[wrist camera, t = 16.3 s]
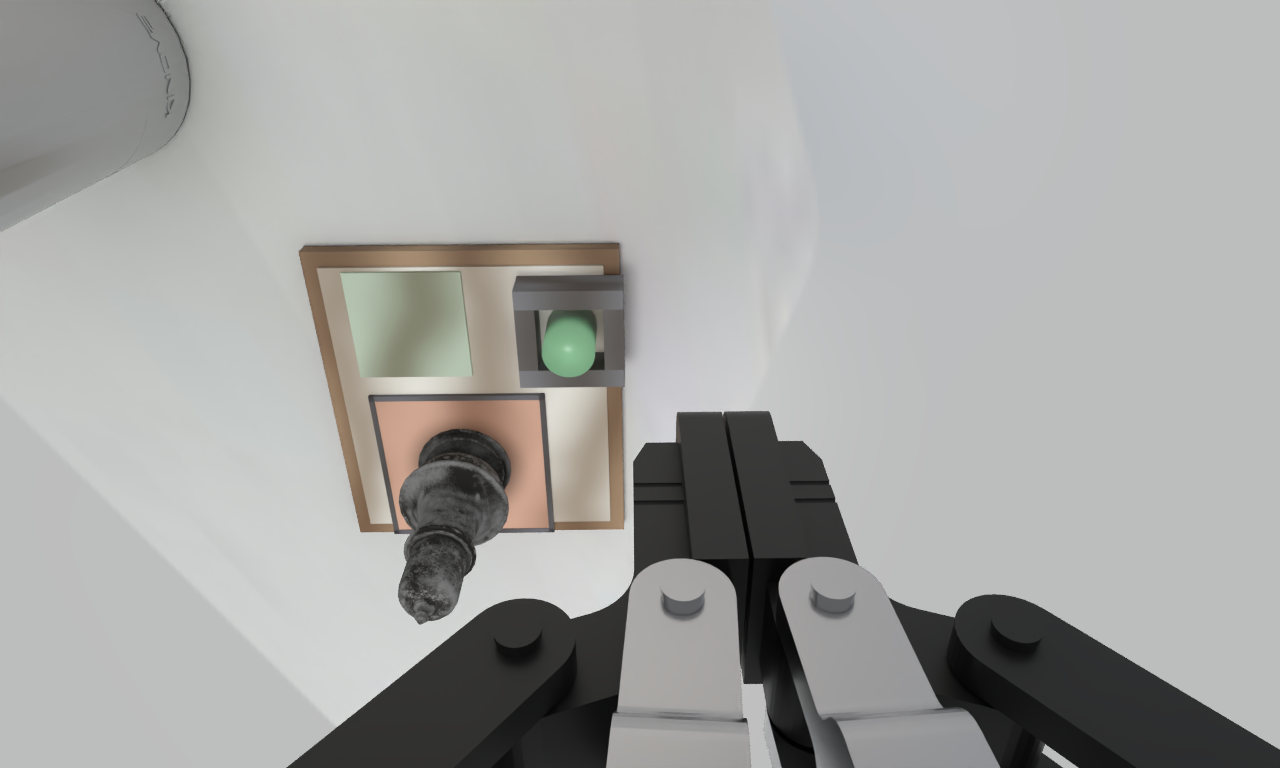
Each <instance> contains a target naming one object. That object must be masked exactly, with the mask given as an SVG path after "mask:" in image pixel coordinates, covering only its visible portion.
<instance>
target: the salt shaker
mask: <svg viewBox="0 0 1280 768" xmlns="http://www.w3.org/2000/svg"><path fill="white" fill-rule="evenodd" d="M418 467H419V468H417V469H416V470H414V471H413V472H412V473H411V474H410V475H409V476H408V477H407V478H406V479H405V481H404V483H403V485H402V487H401V489H400V494H399V506H400V511H401V514H402V516H403V518H404V519H405V521H406V523H407V524H408V525H409V526H410V527H411V528H412V529H413V532H412V533H411V534H410V535H409V536H408V538H407V540H406V542H405V545H404V555H405V559H406V561H407V563H406V566H405V569H404V572H403V575H402V578H401V581H400V584H399V590H398V598H399V602H400V604H401V605H402V607H403V608H404V610H405V611H406V612H407V613H408V614H409V615H411V616H413V617H414V618H415V620H416V621H417V622H418V624H423V623H425V622H427V621H434V620H438V619H441V618H443V617H445V616H447V615H448V614H450V613H451V612H452V611H453V609H454V607H455V606H456V604H457V602H458V598H459V594H460V590H461V586H462V582H463V578H464V576H466V575H467V574H468V573H469V572H470V571H471V570H472V568H473V566H474V565H475V561H476V551H475V547H474V546H476V545H480V544H483V543H485V542H486V541H488V540H490V539H492V538H493V537H495V536H496V535H497V534H498V533H499V532H500V531H501V530H502V528H503V526H504V525H505V523H506V521H507V517H508V512H509V503H508V497H507V495H506V493H505V491H504V490H505V488H506V486H507V485H508V483H509V480H510V475H511V464H510V460H509V457H508V455H507V453H506V451H505V450H504V449H503V448H502V446H501V445H500V444H499V443H498V442H497V441H495V440H494V439H492V438H491V437H490V436H488V435H486V434H483V433H481V432H478V431H474V430H469V429H451V430H448V431H444V432H441V433H439V434H437V435H435V436H434V437H432V438H431V439H430V440H429V441H428V442H427V443H426V444H425V445H424V447H423V449H422V451H421V453H420V455H419V462H418Z"/></svg>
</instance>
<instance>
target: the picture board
mask: <svg viewBox="0 0 1280 768" xmlns="http://www.w3.org/2000/svg"><path fill="white" fill-rule="evenodd" d="M299 256H300V260H301V265H302V269H303V274H304V278H305V283H306V287H307V292H308V296H309V301H310V305H311V310H312V315H313V319H314V324H315V328H316V333H317V337H318V342H319V346H320V351H321V355H322V360H323V364H324V369H325V373H326V378H327V382H328V387H329V391H330V396H331V400H332V405H333V409H334V414H335V419H336V423H337V428H338V432H339V437H340V441H341V446H342V450H343V455H344V459H345V464H346V468H347V473H348V477H349V482H350V486H351V491H352V495H353V500H354V504H355V509H356V513H357V518H358V523H359V527H360V532H394V533H395V534H411V533H412V532H413V529H412V528H411V527H410V526H409V525H408V524H407V523H406V521H405V519H404V518H403V516H402V514H401V511H400V506H399V494H400V489H401V487H402V485H403V483H404V481H405V479H406V478H407V477H408V476H409V475H410V474H411V473H412V472H413V471H414V470H416V469H417V468H419V467H418V462H419V455H420V453H421V451H422V449H423V447H424V445H425V444H426V443H427V442H428V441H429V440H430V439H431V438H432V437H434V436H435V435H437V434H439V433H441V432H444V431H448V430H451V429H469V430H474V431H478V432H481V433H483V434H486V435H488V436H490V437H491V438H492V439H494V440H495V441H497V442H498V443H499V444H500V445H501V446H502V448H503V449H504V450H505V451H506V453H507V455H508V457H509V460H510V464H511V475H510V480H509V483H508V485H507V486H506V488H505V490H504V491H505V493H506V495H507V497H508V503H509V512H508V517H507V521H506V523H505V525H504V526H503V528H502V530H501V531H500V532H499V533H522V532H554V530H595V529H624V493H623V436H622V387H625V354H624V289H623V275H620V267H619V244H519V245H401V246H304V247H303V248H302V249H301V250H300V251H299ZM554 310H589V311H590V312H591V313H592V315H593V316H594V318H595V320H596V323H597V335H596V349H595V359H594V362H593V364H592V366H591V367H590V369H589V370H588V371H587V372H585V373H584V374H582V375H579V376H576V377H562V376H559V375H557V374H555V373H553V372H552V371H550V370H549V369H548V368H547V367H546V365H545V364H544V362H543V359H542V346H543V341H544V336H545V331H546V326H547V321H548V318H549V316H550V314H551V313H552V312H553V311H554Z"/></svg>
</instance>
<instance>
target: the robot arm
mask: <svg viewBox="0 0 1280 768" xmlns="http://www.w3.org/2000/svg"><path fill="white" fill-rule="evenodd" d="M189 82H190V81H189V75H188V69H187V63H186V58H185V55H184V52H183V50H182V47H181V44H180V41H179V39H178V36H177V34H176V33H175V31H174V29H173V27H172V25H171V24H170V22H169V20H168V18H167V17H166V15H165V13H164V12H163V11H162V10H161V8H160V7H159V6H158V5H157V3H156V2H155V1H154V0H0V232H2V231H4V230H5V229H7V228H9V227H11V226H13V225H15V224H17V223H19V222H21V221H23V220H25V219H27V218H29V217H30V216H32V215H34V214H36V213H38V212H40V211H42V210H44V209H46V208H48V207H50V206H52V205H54V204H56V203H57V202H59V201H61V200H63V199H65V198H67V197H69V196H71V195H73V194H75V193H77V192H79V191H81V190H82V189H84V188H86V187H88V186H90V185H92V184H94V183H96V182H98V181H100V180H102V179H104V178H106V177H108V176H110V175H112V174H114V173H116V172H118V171H119V170H121V169H123V168H125V167H127V166H129V165H131V164H133V163H135V162H136V161H138V160H140V159H142V158H144V157H146V156H148V155H150V154H151V153H153V152H155V151H157V150H159V149H161V148H162V147H163V146H164V145H165V144H166V143H167V142H168V141H169V140H170V139H171V138H173V136H174V135H175V133H176V132H177V130H178V128H179V127H180V125H181V123H182V122H183V119H184V116H185V113H186V109H187V106H188V102H189ZM633 480H634V576H633V579H632V583H631V584H630V586H629V588H628V590H627V591H626V592H625V593H624V594H623V596H621V597H620V598H619V599H618V600H617V601H616V602H614V603H613V604H611V605H610V606H608V607H606V608H604V609H602V610H600V611H597V612H594V613H591V614H588V615H584V616H580V617H577V618H573V619H570V618H569V616H568V615H567V614H566V613H565V612H564V611H563V610H561V609H560V608H558V607H557V606H555V605H553V604H551V603H549V602H545V601H542V600H537V599H513V600H509V601H504V602H501V603H499V604H496V605H494V606H492V607H490V608H488V609H486V610H484V611H483V612H482V613H480V614H479V615H477V616H476V617H475V618H474V619H472V620H471V621H470V622H469V623H467V624H466V625H465V626H464V627H462V628H461V629H460V630H459V631H457V632H456V633H455V634H454V635H452V636H451V637H450V638H449V639H447V640H446V641H445V642H444V643H442V644H441V645H440V646H439V647H437V648H436V649H435V650H434V651H432V652H431V653H430V654H429V655H427V656H426V657H425V658H424V659H422V660H421V661H420V662H419V663H417V664H416V665H415V666H413V667H412V668H411V669H410V670H408V671H407V672H406V673H405V674H403V675H402V676H401V677H400V678H398V679H397V680H396V681H395V682H393V683H392V684H391V685H390V686H388V687H387V688H386V689H385V690H383V691H382V692H381V693H380V694H378V695H377V696H376V697H375V698H373V699H372V700H371V701H370V702H368V703H367V704H366V705H365V706H363V707H362V708H361V709H360V710H358V711H357V712H356V713H355V714H353V715H352V716H351V717H350V718H348V719H347V720H346V721H344V722H343V723H342V724H341V725H339V726H338V727H337V728H336V729H335V730H333V731H332V732H331V733H330V734H328V735H327V736H326V737H325V738H324V739H322V740H321V741H319V742H318V743H317V744H316V745H314V746H313V747H312V748H311V749H309V750H308V751H307V752H306V753H304V754H303V755H302V756H301V757H299V758H298V759H297V760H296V761H294V762H293V763H292V764H291V765H289V766H288V767H287V768H751V758H750V742H749V730H748V722H747V719H746V718H743V711H742V693H741V674H740V666H741V669H742V676H743V683H744V684H763V687H764V693H765V699H766V710H765V719H764V735H765V740H766V744H767V748H768V752H769V756H770V760H771V764H772V768H1062V767H1061V766H1060V765H1058V764H1057V763H1055V762H1054V761H1052V760H1051V759H1050V758H1048V757H1047V756H1046V755H1044V754H1043V753H1042V751H1043V748H1044V746H1045V744H1046V745H1047V746H1049V747H1050V748H1052V749H1053V750H1054V751H1056V752H1057V753H1059V754H1060V755H1062V756H1063V757H1065V758H1066V759H1067V760H1069V761H1070V762H1071V763H1073V764H1074V765H1076V766H1077V767H1078V768H1280V750H1279V749H1278V748H1276V747H1274V746H1273V745H1271V744H1269V743H1268V742H1266V741H1264V740H1263V739H1261V738H1259V737H1258V736H1256V735H1254V734H1252V733H1251V732H1249V731H1247V730H1246V729H1244V728H1242V727H1241V726H1239V725H1237V724H1236V723H1234V722H1232V721H1231V720H1229V719H1227V718H1226V717H1224V716H1222V715H1221V714H1219V713H1217V712H1215V711H1214V710H1212V709H1211V708H1209V707H1207V706H1206V705H1204V704H1202V703H1201V702H1199V701H1197V700H1195V699H1194V698H1192V697H1190V696H1189V695H1187V694H1185V693H1184V692H1182V691H1180V690H1179V689H1177V688H1175V687H1174V686H1172V685H1170V684H1169V683H1167V682H1165V681H1164V680H1162V679H1160V678H1158V677H1157V676H1155V675H1154V674H1152V673H1150V672H1148V671H1147V670H1145V669H1144V668H1142V667H1140V666H1138V665H1137V664H1135V663H1133V662H1132V661H1130V660H1128V659H1127V658H1125V657H1123V656H1122V655H1120V654H1118V653H1117V652H1115V651H1113V650H1112V649H1110V648H1108V647H1106V646H1105V645H1103V644H1101V643H1100V642H1098V641H1097V640H1095V639H1093V638H1091V637H1090V636H1088V635H1087V634H1085V633H1083V632H1082V631H1080V630H1078V629H1076V628H1075V627H1073V626H1071V625H1070V624H1068V623H1066V622H1065V621H1063V620H1061V619H1060V618H1058V617H1056V616H1054V615H1053V614H1051V613H1050V612H1048V611H1046V610H1045V609H1043V608H1041V607H1039V606H1037V605H1035V604H1033V603H1030V602H1028V601H1026V600H1023V599H1019V598H1016V597H1011V596H1006V595H995V594H993V595H982V596H978V597H975V598H972V599H970V600H968V601H966V602H965V603H964V604H963V605H962V606H961V607H960V608H959V609H958V611H957V613H956V616H955V618H954V617H949V616H945V615H940V614H937V613H932V612H928V611H924V610H919V609H916V608H912V607H908V606H905V605H903V604H901V603H898V602H896V601H894V600H892V599H890V598H888V596H887V594H886V592H885V590H884V588H883V586H882V585H881V583H880V582H879V581H878V580H877V579H876V577H875V576H873V575H872V574H871V573H870V572H869V571H867V570H865V569H864V568H862V567H861V566H859V565H858V562H857V559H856V556H855V553H854V551H853V548H852V545H851V542H850V539H849V536H848V533H847V531H846V528H845V525H844V522H843V519H842V516H841V513H840V510H839V508H838V505H837V503H835V496H834V493H833V491H832V488H831V485H829V479H828V476H827V474H826V471H825V468H824V465H823V462H822V459H821V458H820V457H818V456H817V455H816V454H815V453H814V452H813V451H812V450H811V449H810V448H809V447H808V446H807V445H806V444H805V443H804V442H803V441H778V439H777V436H776V432H775V429H774V425H773V421H772V418H771V415H770V412H769V411H740V412H724V414H723V416H722V412H677V420H676V443H646V444H645V445H644V447H643V448H642V450H641V451H640V453H639V454H638V456H637V457H636V458H635V460H634V461H633Z"/></svg>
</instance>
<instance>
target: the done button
mask: <svg viewBox="0 0 1280 768" xmlns="http://www.w3.org/2000/svg"><path fill="white" fill-rule="evenodd" d="M596 335H597V323H596V320H595V318H594V316H593V315H592V313H591V312H590V311H589V310H554V311H553V312H552V313H551V314H550V316H549V318H548V321H547V326H546V331H545V336H544V341H543V346H542V359H543V362H544V364H545V365H546V367H547V368H548V369H549V370H550V371H552V372H553V373H555V374H557V375H559V376H562V377H576V376H579V375H582V374H584V373H585V372H587V371H588V370H589V369H590V367H591V366H592V364H593V362H594V359H595V349H596Z"/></svg>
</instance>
